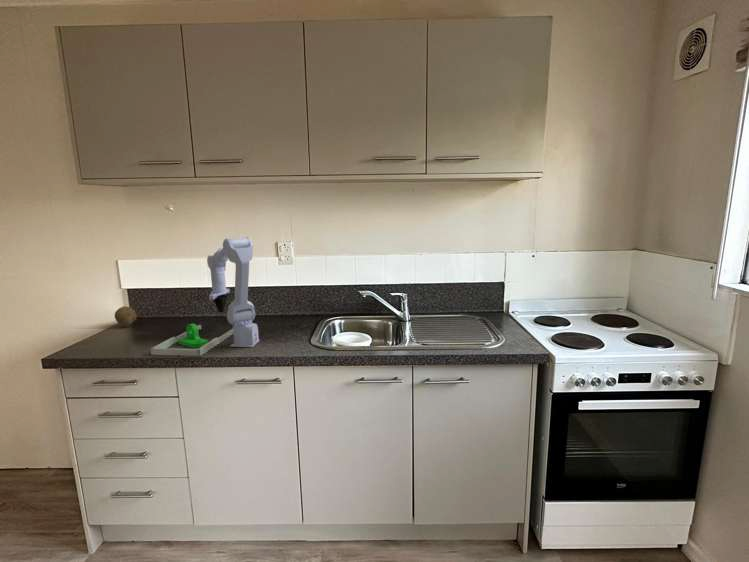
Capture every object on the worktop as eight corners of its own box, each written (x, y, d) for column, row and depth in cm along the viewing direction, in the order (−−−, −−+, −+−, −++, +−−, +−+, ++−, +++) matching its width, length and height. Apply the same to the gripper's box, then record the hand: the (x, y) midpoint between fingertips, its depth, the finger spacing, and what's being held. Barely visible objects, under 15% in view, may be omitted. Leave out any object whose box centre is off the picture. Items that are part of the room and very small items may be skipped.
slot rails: (240, 329, 187) (239, 325, 187) (218, 343, 167) (218, 339, 167) (199, 328, 189) (198, 324, 189) (173, 342, 170) (172, 338, 170)
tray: (218, 343, 167) (218, 337, 167) (200, 356, 154) (199, 349, 153) (173, 342, 170) (172, 337, 169) (151, 354, 156) (150, 348, 156)
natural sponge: (128, 323, 201) (125, 304, 199) (142, 324, 199) (139, 304, 197) (112, 328, 192) (109, 308, 191) (126, 329, 190) (123, 309, 188)
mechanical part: (178, 344, 168) (176, 326, 167) (191, 340, 173) (190, 322, 172) (195, 349, 162) (193, 330, 160) (208, 345, 167) (207, 326, 165)
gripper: (218, 279, 185) (220, 307, 188) (201, 285, 171) (204, 316, 173) (232, 279, 184) (235, 307, 187) (216, 285, 170) (219, 316, 173)
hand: (221, 311), depth 180 cm, fingers closed
